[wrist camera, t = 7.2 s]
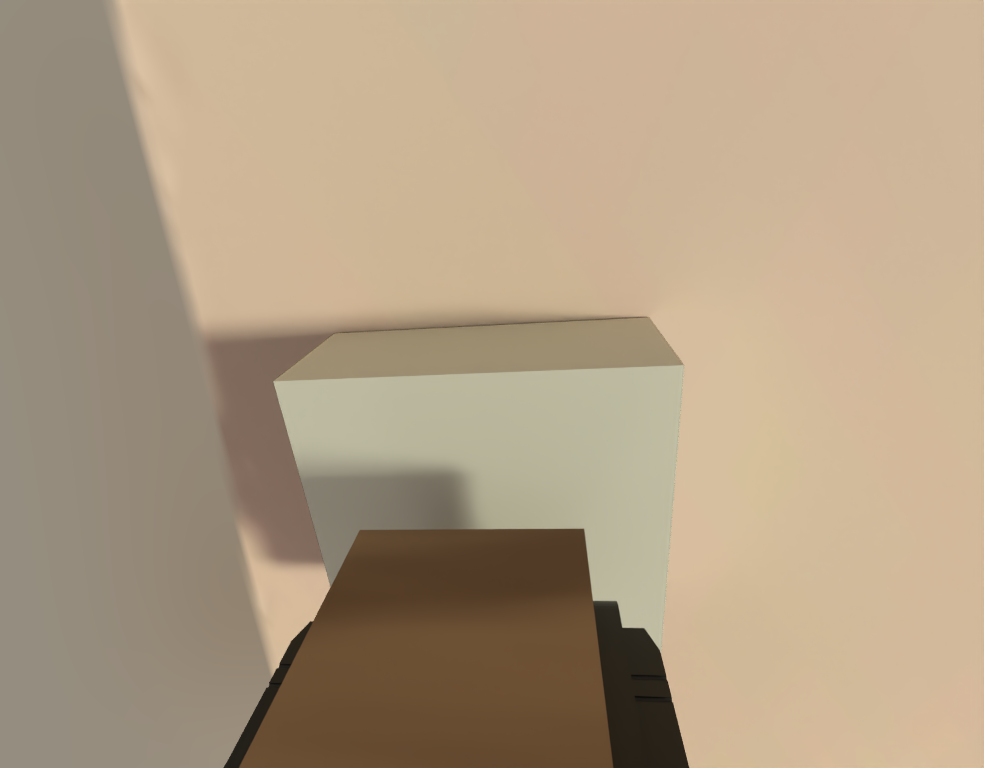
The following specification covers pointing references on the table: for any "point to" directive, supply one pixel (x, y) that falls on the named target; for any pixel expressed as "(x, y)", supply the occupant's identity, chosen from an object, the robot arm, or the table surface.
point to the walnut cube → (447, 658)
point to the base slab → (497, 441)
